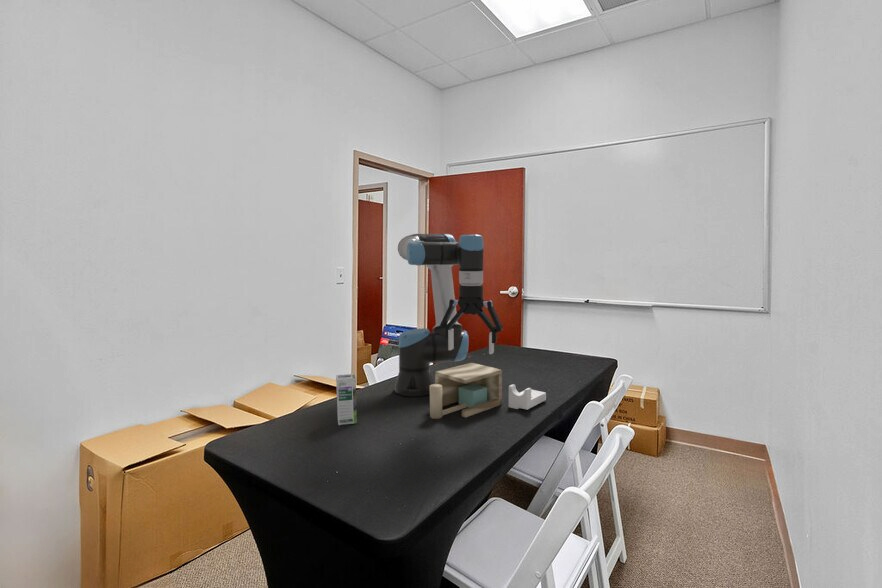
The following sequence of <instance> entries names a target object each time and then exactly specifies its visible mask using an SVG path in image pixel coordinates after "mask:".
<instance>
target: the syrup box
mask: <svg viewBox="0 0 882 588" xmlns="http://www.w3.org/2000/svg"><path fill="white" fill-rule="evenodd" d="M356 379H357V378H356V375H355V373H349V374H348V373H347V374H346V373H345V374H336V375H335V381H336V383H335V384H336V410H337V425H338V426H344V425H351V424H358V416H357V415H358V413H357V412H358V409H357V380H356Z"/></svg>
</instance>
